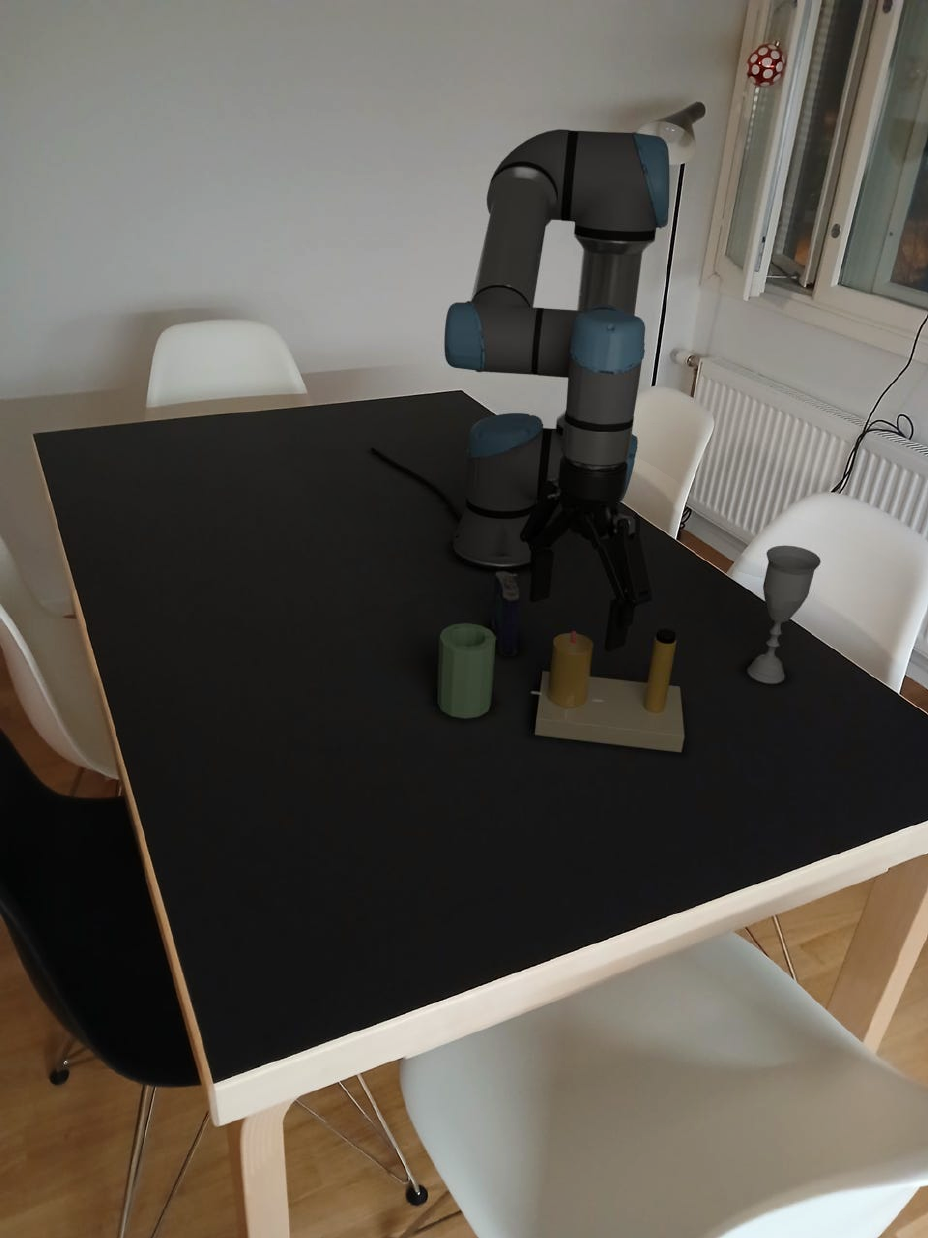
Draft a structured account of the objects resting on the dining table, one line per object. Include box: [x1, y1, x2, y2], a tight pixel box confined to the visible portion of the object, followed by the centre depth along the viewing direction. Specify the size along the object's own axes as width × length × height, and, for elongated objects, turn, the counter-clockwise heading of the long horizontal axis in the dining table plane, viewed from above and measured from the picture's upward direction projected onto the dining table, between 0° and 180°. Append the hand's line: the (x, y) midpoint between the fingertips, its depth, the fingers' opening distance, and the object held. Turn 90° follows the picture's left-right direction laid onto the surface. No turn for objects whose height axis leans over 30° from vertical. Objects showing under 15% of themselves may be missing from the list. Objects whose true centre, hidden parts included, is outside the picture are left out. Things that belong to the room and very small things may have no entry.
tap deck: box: [530, 670, 685, 753], centre depth 123 cm, size 19×11×3 cm, turn 81°
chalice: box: [746, 545, 822, 684], centre depth 130 cm, size 7×7×18 cm
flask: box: [491, 571, 521, 657], centre depth 137 cm, size 9×3×11 cm, turn 8°
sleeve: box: [436, 622, 497, 720], centre depth 123 cm, size 7×7×10 cm
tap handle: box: [548, 630, 594, 708], centre depth 121 cm, size 5×5×8 cm
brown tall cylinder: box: [644, 628, 677, 713], centre depth 119 cm, size 3×3×12 cm
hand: (575, 622), depth 118 cm, fingers open, 13 cm apart
